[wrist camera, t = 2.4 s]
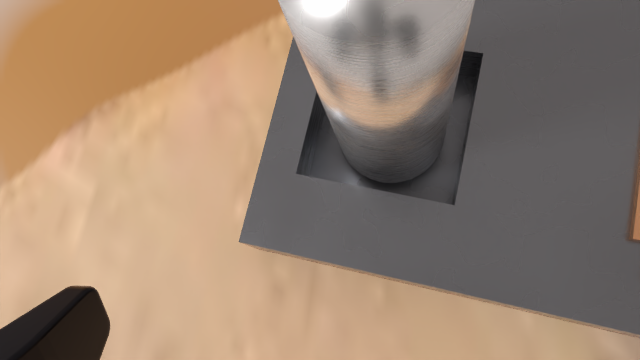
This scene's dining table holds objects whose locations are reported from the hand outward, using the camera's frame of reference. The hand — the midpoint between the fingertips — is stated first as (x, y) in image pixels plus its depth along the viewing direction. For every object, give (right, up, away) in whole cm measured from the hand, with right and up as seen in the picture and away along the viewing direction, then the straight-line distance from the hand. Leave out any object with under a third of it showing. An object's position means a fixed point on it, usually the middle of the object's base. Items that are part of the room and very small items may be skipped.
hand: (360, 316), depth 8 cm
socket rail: (+9, +3, +13) cm, 16 cm away
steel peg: (+2, +4, +14) cm, 15 cm away
